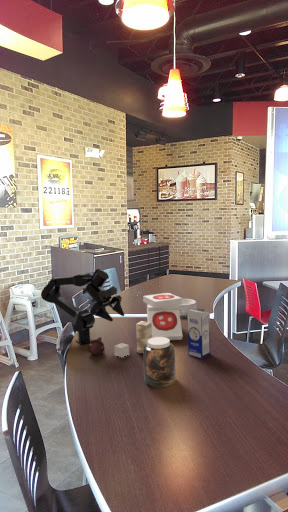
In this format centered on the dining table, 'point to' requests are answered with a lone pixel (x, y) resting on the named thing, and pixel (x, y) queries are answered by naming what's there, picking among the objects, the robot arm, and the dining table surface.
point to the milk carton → (198, 333)
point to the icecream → (96, 346)
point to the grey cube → (121, 350)
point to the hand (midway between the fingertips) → (118, 318)
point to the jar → (159, 362)
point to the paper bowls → (186, 306)
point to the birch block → (143, 334)
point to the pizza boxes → (164, 315)
